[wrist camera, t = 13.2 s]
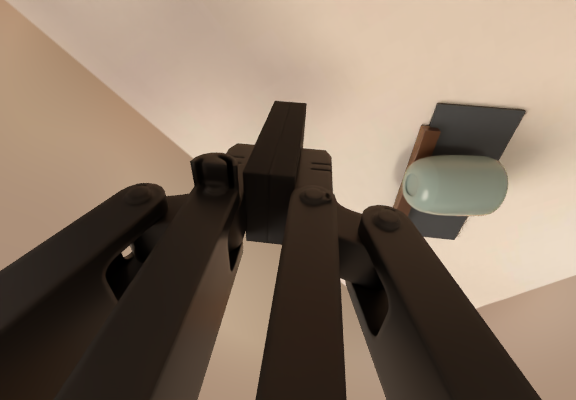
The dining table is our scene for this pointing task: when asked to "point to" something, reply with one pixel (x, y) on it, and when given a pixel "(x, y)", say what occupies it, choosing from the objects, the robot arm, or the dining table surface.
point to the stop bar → (421, 149)
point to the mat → (465, 150)
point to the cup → (455, 185)
